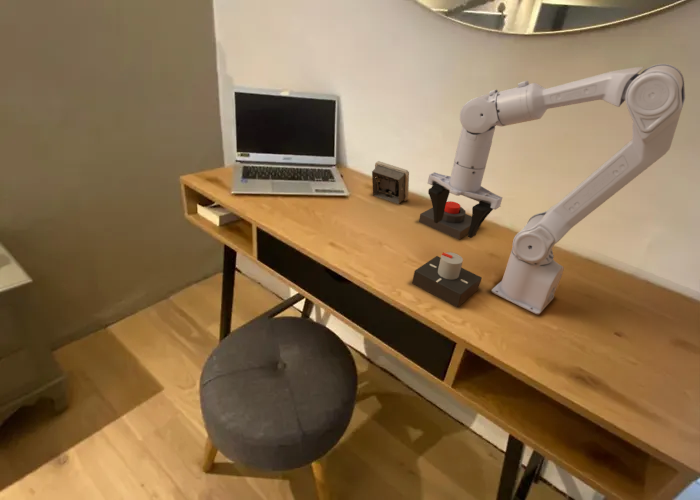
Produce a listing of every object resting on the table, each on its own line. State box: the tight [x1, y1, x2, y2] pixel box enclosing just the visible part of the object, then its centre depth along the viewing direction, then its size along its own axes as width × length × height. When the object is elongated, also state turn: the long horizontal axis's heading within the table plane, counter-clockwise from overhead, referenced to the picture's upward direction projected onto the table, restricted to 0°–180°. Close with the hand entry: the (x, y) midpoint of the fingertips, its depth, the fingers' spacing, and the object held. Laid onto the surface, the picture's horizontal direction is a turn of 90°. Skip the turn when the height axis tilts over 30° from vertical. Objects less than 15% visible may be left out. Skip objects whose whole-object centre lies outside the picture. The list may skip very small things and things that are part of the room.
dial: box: [438, 251, 464, 280], centre depth 88 cm, size 4×4×4 cm
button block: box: [418, 206, 472, 240], centre depth 112 cm, size 11×9×4 cm
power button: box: [444, 200, 462, 214], centre depth 110 cm, size 4×4×2 cm
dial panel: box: [411, 255, 482, 308], centre depth 90 cm, size 10×8×3 cm
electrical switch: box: [371, 160, 410, 205], centre depth 120 cm, size 9×5×9 cm, turn 57°
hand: (454, 228), depth 93 cm, fingers open, 7 cm apart
